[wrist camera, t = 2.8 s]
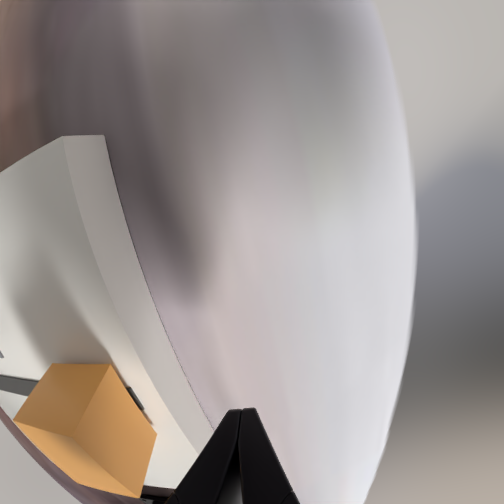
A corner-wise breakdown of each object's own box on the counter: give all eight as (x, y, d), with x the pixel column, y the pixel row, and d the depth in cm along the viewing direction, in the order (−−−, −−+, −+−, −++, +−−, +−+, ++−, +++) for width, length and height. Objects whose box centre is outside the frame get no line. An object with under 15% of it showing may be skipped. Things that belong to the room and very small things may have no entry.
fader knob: (157, 434, 10) (139, 498, 7) (100, 428, 10) (77, 482, 7) (110, 364, 8) (72, 437, 5) (52, 363, 8) (12, 420, 5)
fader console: (229, 457, 15) (226, 492, 12) (63, 440, 16) (52, 463, 13) (104, 135, 8) (59, 136, 6) (-56, 228, 10) (-84, 243, 7)
